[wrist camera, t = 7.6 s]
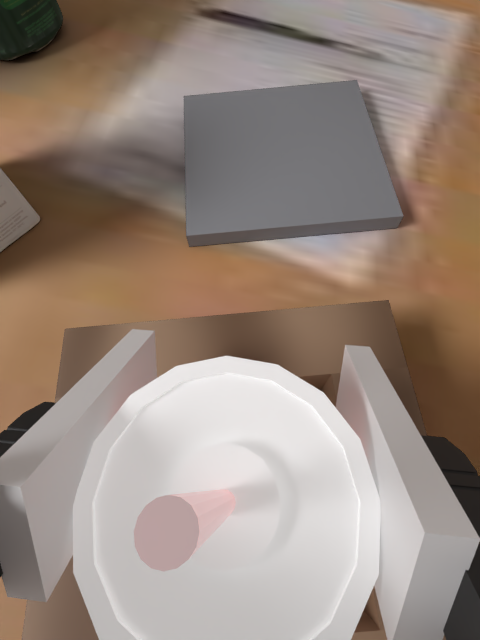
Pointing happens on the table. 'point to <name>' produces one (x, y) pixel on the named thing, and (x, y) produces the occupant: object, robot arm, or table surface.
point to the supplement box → (13, 213)
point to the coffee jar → (27, 26)
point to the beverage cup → (226, 511)
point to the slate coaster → (283, 165)
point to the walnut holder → (248, 343)
